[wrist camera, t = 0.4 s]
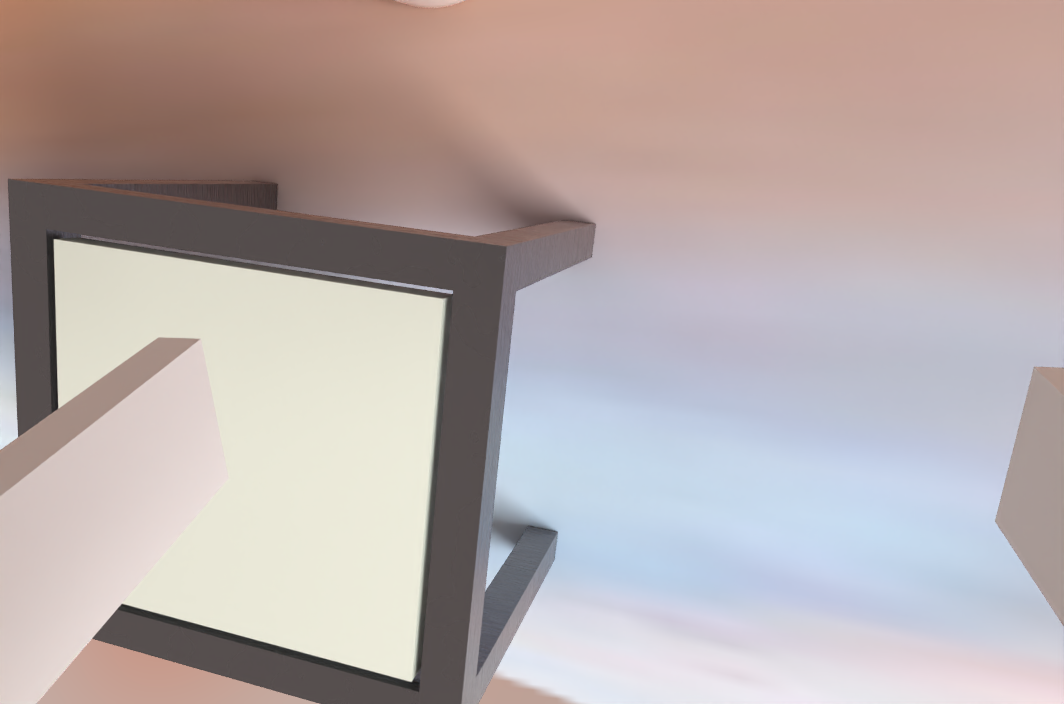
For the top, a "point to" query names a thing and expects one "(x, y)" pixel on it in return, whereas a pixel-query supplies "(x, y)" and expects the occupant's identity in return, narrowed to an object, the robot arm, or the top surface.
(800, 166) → the top surface
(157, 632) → the stand
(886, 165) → the top surface
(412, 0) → the candle holder
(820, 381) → the top surface
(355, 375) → the trapdoor
